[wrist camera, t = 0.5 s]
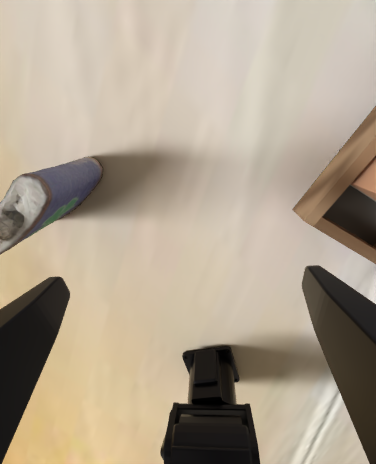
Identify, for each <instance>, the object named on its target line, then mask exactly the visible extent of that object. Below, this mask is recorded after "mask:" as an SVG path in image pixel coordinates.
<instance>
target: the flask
mask: <svg viewBox="0 0 376 464" xmlns="http://www.w3.org/2000/svg"><path fill="white" fill-rule="evenodd" d="M100 166H101V164H100V163H99V162H98V161H97V160H96V159H94V158H93V157H84V158H82V159H78V160H75V161H72V162H69V163H66V164H62V165H59V166H55V167H51V168H47V169H42V170H39V171H36V172H32V173H27V174H22V175H20V176H19V177H17V178H16V179H15V180H13V182H12V184H11V186H10V188H9V190H8V191H7V193H6V195H5V197H4V199H3V200H2V201H1V202H0V254H2V253H4V252H5V251H7V250H9V249H11V248H12V247H14V246H15V245H17V244H18V243H19V242H21V241H22V240H24V239H26V238H28V237H29V236H31V235H33V234H34V233H36V232H37V231H39V230H40V229H42V228H44V227H45V226H47V225H49V224H51V223H53V222H54V221H56V220H58V219H60V218H62V217H64V216H65V215H67V214H69V213H70V212H71V211H73V210H75V209H76V208H77V207H78V206H79V205H81V203H82V201H83V200H84V199H85V198H86V197H87V196H88V195H89V194H90V193H91V191H92V190H94V188H95V187H96V185H97V184H98V183H99V181H100V179H101V178H102V175H103V174H102V173H103V169H102V166H101V167H100Z"/></svg>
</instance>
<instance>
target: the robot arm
mask: <svg viewBox="0 0 376 464" xmlns="http://www.w3.org/2000/svg"><path fill="white" fill-rule="evenodd" d="M302 289H303V293H304V296H305V300H306V303H307V307H308V310H309V314H310V317H311V321H312V324H313V327H314V330H315V333H316V336H317V338H318V341H319V343H320V345H321V348H322V350H323V353H324V355H325V357H326V360H327V362H328V365H329V367H330V369H331V372H332V374H333V377H334V379H335V381H336V384H337V386H338V389H339V391H340V393H341V396H342V398H343V401H344V403H345V405H346V408H347V410H348V413H349V415H350V417H351V420H352V422H353V425H354V427H355V429H356V432H357V434H358V437H359V439H360V441H361V444H362V446H363V449H364V451H365V453H366V456H367V458H368V461H369V463H370V464H376V304H375V303H373V302H372V301H370V300H369V299H367V298H366V297H364V296H363V295H362V294H360V293H359V292H357V291H356V290H354V289H353V288H351V287H350V286H348V285H347V284H345V283H344V282H343V281H341V280H340V279H338V278H337V277H335V276H334V275H332V274H331V273H329V272H328V271H327V270H325V269H324V268H322V267H321V266H317V265H316V266H307V267H306V268H305V271H304V276H303V281H302ZM69 298H70V291H69V289H68V287H67V286H66V284H65V282H64V280H63V278H61V277H49V278H48V279H46V280H44V281H43V282H41V283H40V284H38V285H37V286H35V287H34V288H32V289H31V290H29V291H28V292H26V293H25V294H23V295H22V296H20V297H19V298H17V299H15V300H14V301H12V302H11V303H9V304H8V305H6V306H5V307H3V308H2V309H0V464H2V462H3V460H4V457H5V455H6V453H7V450H8V448H9V446H10V443H11V441H12V439H13V436H14V434H15V432H16V430H17V427H18V425H19V423H20V420H21V418H22V416H23V413H24V411H25V409H26V407H27V404H28V402H29V400H30V397H31V395H32V393H33V390H34V388H35V386H36V384H37V381H38V379H39V377H40V374H41V372H42V370H43V367H44V365H45V363H46V360H47V358H48V356H49V354H50V351H51V349H52V347H53V344H54V342H55V340H56V337H57V335H58V332H59V329H60V326H61V323H62V320H63V317H64V314H65V310H66V307H67V304H68V301H69ZM227 350H228V351H227ZM182 357H183V360H184V363H185V365H186V368H187V370H188V372H189V375H190V378H189V393H188V404H179V403H173V408H172V410H171V412H170V415H169V422H168V427H167V431H166V435H165V438H164V441H163V444H162V447H161V457H162V458H163V460H164V464H260V459H259V451H258V444H257V438H256V433H255V428H254V423H253V418H252V413H251V408H250V404H245V405H239V404H237V403H236V394H235V385H234V382H238V381H239V375H238V371H237V368H236V365H235V361H234V358H233V354H232V351H231V348H230V347H228V346H226V347H219V348H212V349H204V350H197V351H190V352H184V353H183V356H182Z"/></svg>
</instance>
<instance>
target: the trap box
mask: <svg viewBox="0 0 376 464" xmlns="http://www.w3.org/2000/svg"><path fill="white" fill-rule="evenodd" d="M375 156H376V106H375V108H374V109H373V110H372V111H371V113H370V114H369V115H368V116H367V118H366V119H365V120H364V121H363V122H362V124H361V125H360V126H359V127H358V129H357V130H356V131H355V132H354V134H353V135H352V136H351V137H350V139H349V140H348V141H347V142H346V144H345V145H344V146H343V147H342V149H341V150H340V151H339V152H338V154H337V155H336V156H335V157H334V159H333V160H332V161H331V162H330V163H329V165H328V166H327V167H326V168H325V170H324V171H323V172H322V173H321V175H320V176H319V177H318V178H317V180H316V181H315V182H314V183H313V185H312V186H311V187H310V188H309V190H308V191H307V192H306V193H305V195H304V196H303V197H302V198H301V200H300V201H299V202H298V203H297V204H296V206H295V207H294V208H293V209H292V210H293V211H294V212H295V213H296V214H297V215H298V216H299V217H300V218H301V219H302V220H303V221H305V222H306V223H308V224H310V225H311V226H313V227H315V228H316V229H318V230H320V231H321V232H323V233H325V234H326V235H328V236H330V237H332V238H333V239H335V240H337V241H338V242H340V243H342V244H343V245H345V246H347V247H348V248H350V249H352V250H353V251H355V252H357V253H358V254H360V255H362V256H363V257H365V258H367V259H368V260H370V261H372V262H373V263H375V264H376V200H374V199H372V198H371V197H369V196H368V195H366V194H365V193H363V192H362V191H360V190H359V189H357V188H356V187H354V186H352V185H351V183H352V182H353V181H354V179H355V178H356V177H357V176H358V175H359V174H360V173H361V172H362V170H363V169H364V168H365V167H366V166H367V165H368V164H369V162H370V161H371V160H372V159H373V158H374V157H375Z"/></svg>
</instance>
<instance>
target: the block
mask: <svg viewBox="0 0 376 464" xmlns="http://www.w3.org/2000/svg"><path fill="white" fill-rule="evenodd" d="M351 185H352V186H354V187H356V188H357V189H359V190H360V191H362V192H363V193H365V194H366V195H368V196H369V197H371V198H372V199H374V200H376V156H375V157H374V158H373V159H372V160H371V161H370V162H369V164H368V165H367V166H366V167H365V168H364V169H363V170H362V172H361V173H360V174H359V175H358V176H357V177H356V178H355V179H354V181H353V182H352V183H351Z"/></svg>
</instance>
